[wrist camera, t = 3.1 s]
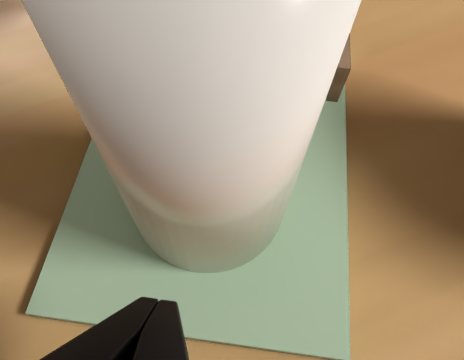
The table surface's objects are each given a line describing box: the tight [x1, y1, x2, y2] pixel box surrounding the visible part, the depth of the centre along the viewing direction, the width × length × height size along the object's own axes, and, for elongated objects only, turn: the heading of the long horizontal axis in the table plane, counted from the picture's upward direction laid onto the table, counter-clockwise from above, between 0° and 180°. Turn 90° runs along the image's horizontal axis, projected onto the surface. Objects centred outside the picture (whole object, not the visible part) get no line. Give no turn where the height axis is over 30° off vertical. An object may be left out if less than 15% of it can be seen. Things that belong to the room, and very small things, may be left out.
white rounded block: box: [21, 0, 361, 273], centre depth 12 cm, size 7×7×13 cm
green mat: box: [25, 84, 350, 360], centre depth 20 cm, size 21×13×1 cm, turn 172°
